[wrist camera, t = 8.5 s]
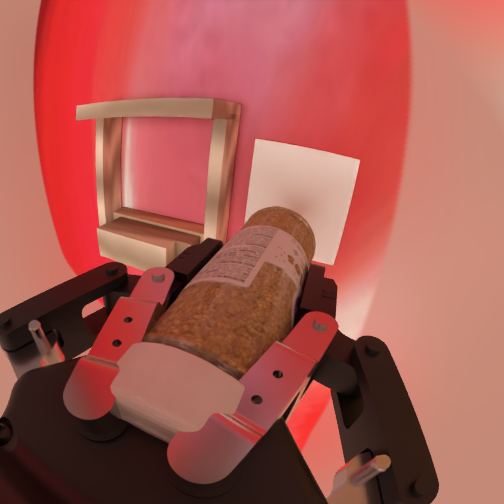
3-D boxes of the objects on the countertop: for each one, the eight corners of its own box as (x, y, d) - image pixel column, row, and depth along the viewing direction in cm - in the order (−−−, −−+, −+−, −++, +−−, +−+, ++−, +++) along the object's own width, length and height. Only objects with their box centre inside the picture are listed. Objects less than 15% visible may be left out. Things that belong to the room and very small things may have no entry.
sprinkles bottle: (319, 272, 17) (263, 501, 5) (250, 274, 18) (135, 460, 7) (311, 199, 15) (214, 433, 3) (235, 207, 17) (54, 372, 5)
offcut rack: (116, 103, 25) (76, 105, 20) (241, 104, 22) (213, 98, 17) (117, 234, 33) (85, 253, 28) (224, 264, 30) (199, 295, 25)
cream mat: (257, 138, 23) (255, 138, 22) (359, 159, 21) (360, 160, 21) (244, 239, 28) (242, 242, 27) (333, 261, 26) (333, 265, 25)
